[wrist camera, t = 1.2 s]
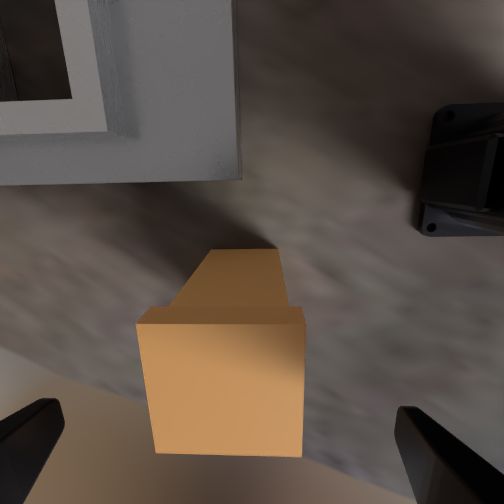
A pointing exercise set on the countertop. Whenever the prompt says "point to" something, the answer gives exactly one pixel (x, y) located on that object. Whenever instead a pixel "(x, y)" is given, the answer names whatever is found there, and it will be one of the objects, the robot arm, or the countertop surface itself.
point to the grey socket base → (131, 97)
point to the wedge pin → (227, 360)
